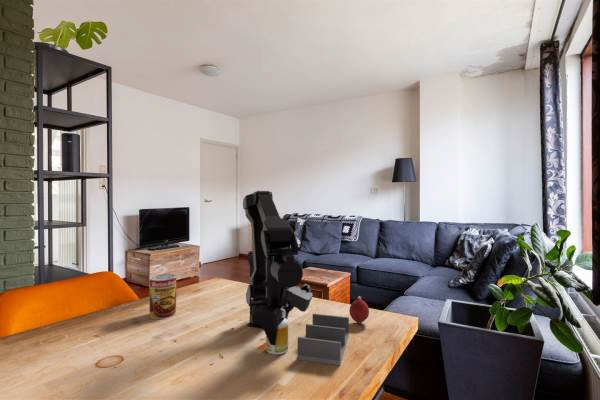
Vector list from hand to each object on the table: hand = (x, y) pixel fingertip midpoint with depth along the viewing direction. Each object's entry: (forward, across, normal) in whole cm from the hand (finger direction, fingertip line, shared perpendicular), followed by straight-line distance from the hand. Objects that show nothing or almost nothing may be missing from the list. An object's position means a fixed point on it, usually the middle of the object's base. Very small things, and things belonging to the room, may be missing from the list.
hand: (277, 339), depth 77 cm
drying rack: (+2, +5, -11) cm, 12 cm away
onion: (+3, +22, -18) cm, 29 cm away
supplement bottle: (+3, 0, 0) cm, 3 cm away
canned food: (+3, +12, +43) cm, 45 cm away
